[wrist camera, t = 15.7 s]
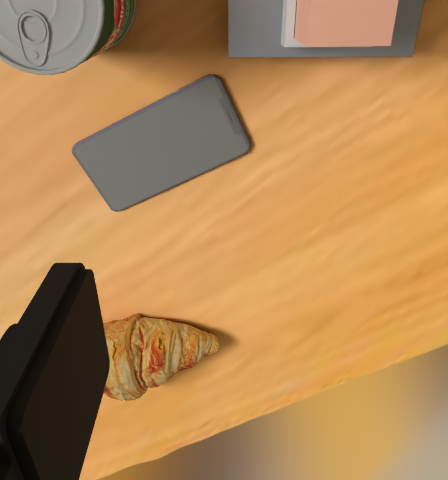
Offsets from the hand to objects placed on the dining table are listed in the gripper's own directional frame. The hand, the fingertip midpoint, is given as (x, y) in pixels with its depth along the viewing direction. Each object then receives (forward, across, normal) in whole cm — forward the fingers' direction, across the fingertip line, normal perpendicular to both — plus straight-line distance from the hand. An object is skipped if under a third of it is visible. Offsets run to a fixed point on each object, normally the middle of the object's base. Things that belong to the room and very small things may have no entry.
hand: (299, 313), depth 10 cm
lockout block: (+25, -6, -6) cm, 27 cm away
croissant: (+31, +12, +30) cm, 45 cm away
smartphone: (+31, +7, +6) cm, 32 cm away
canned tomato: (+31, +12, -6) cm, 33 cm away
